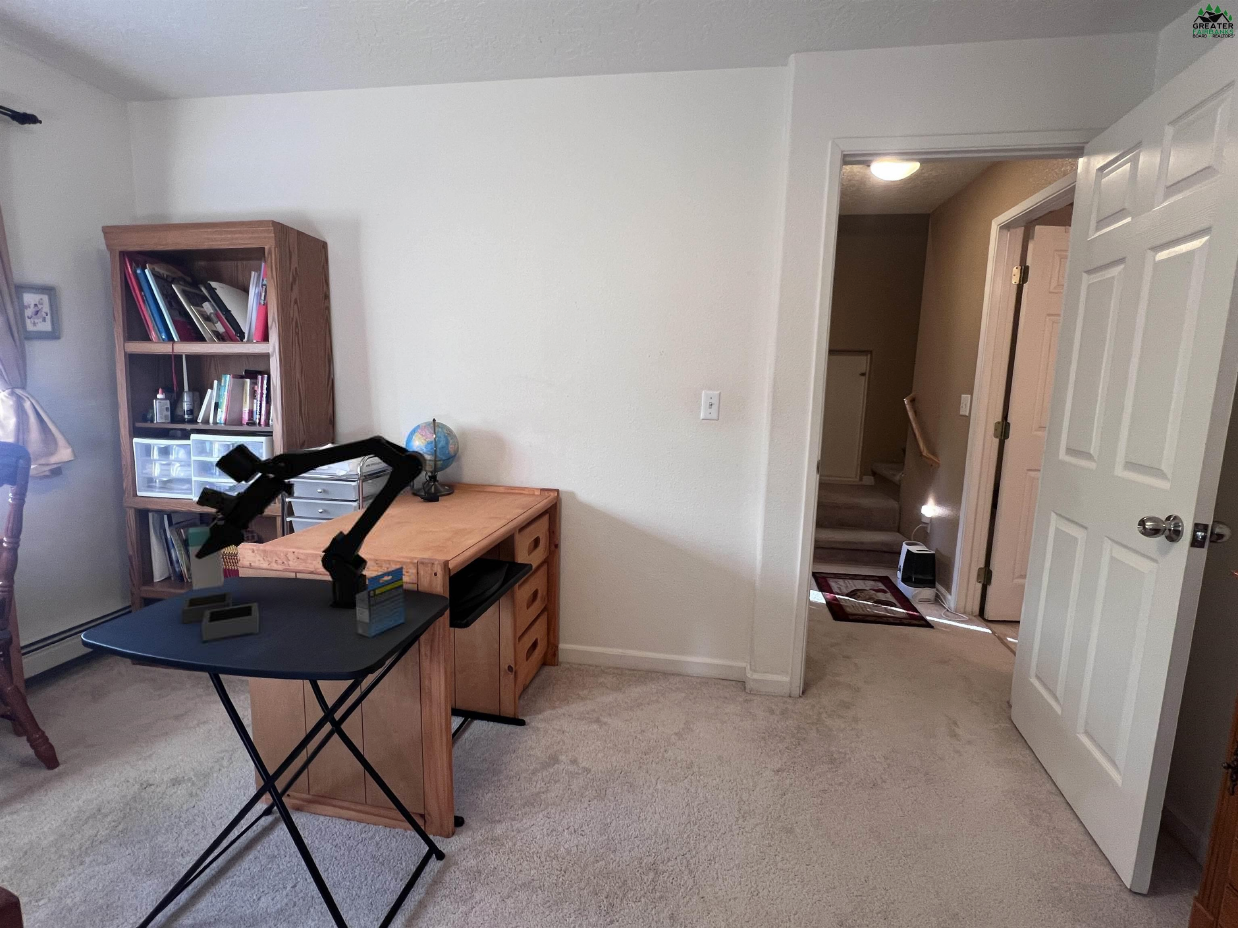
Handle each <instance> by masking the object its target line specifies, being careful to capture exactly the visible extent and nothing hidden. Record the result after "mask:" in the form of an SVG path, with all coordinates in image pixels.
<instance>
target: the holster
mask: <svg viewBox="0 0 1238 928" xmlns="http://www.w3.org/2000/svg"><path fill="white" fill-rule="evenodd" d="M226 607H233V600H232V591H228V592H220V593H213V594H206V595H198V596H192V597H185V599H184V602H183V604H182V608H181V616H182V624H191V623H196V622H202V621H203V617H204V612H205V611H207V610H213V609H220V608H226Z"/></svg>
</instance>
